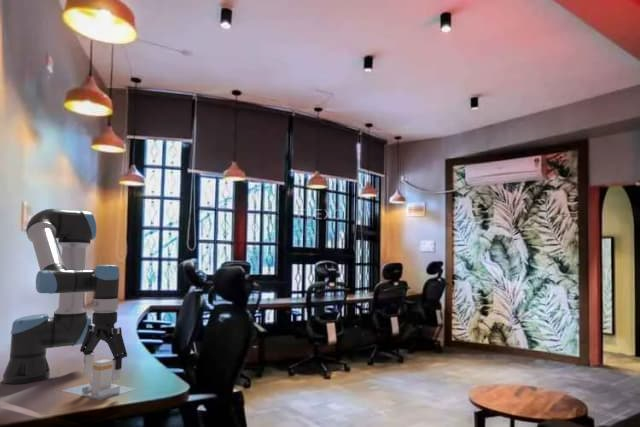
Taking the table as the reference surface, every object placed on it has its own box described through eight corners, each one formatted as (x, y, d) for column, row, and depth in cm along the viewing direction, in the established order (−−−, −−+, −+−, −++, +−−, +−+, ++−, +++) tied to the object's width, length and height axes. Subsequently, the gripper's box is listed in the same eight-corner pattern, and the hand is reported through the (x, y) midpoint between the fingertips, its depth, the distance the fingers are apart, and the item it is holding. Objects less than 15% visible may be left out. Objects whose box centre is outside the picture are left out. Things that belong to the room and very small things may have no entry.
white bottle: (91, 392, 153) (93, 361, 154) (102, 389, 157) (104, 359, 158) (99, 394, 151) (101, 363, 152) (110, 391, 155) (112, 360, 156)
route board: (60, 394, 157) (60, 390, 157) (97, 384, 169) (97, 381, 170) (99, 403, 148) (100, 399, 148) (136, 392, 160) (136, 389, 160)
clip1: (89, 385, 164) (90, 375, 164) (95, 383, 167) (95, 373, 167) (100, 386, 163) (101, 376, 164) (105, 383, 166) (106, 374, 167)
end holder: (81, 395, 152) (82, 387, 152) (103, 389, 159) (103, 382, 159) (98, 399, 148) (98, 391, 149) (119, 393, 155) (119, 385, 156)
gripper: (71, 310, 159) (67, 374, 157) (121, 315, 147) (117, 384, 145) (91, 308, 165) (87, 369, 163) (140, 312, 154) (137, 379, 152)
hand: (101, 377), depth 154 cm, fingers open, 13 cm apart
